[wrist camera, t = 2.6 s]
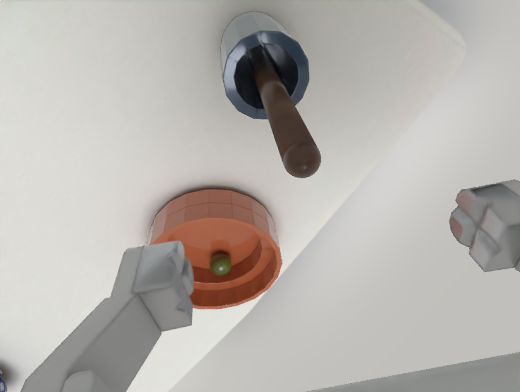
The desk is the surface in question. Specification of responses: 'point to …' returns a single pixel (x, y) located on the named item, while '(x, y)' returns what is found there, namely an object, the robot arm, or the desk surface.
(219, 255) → the bead
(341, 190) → the desk surface
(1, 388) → the teapot
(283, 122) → the stick
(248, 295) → the bowl
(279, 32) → the crock
